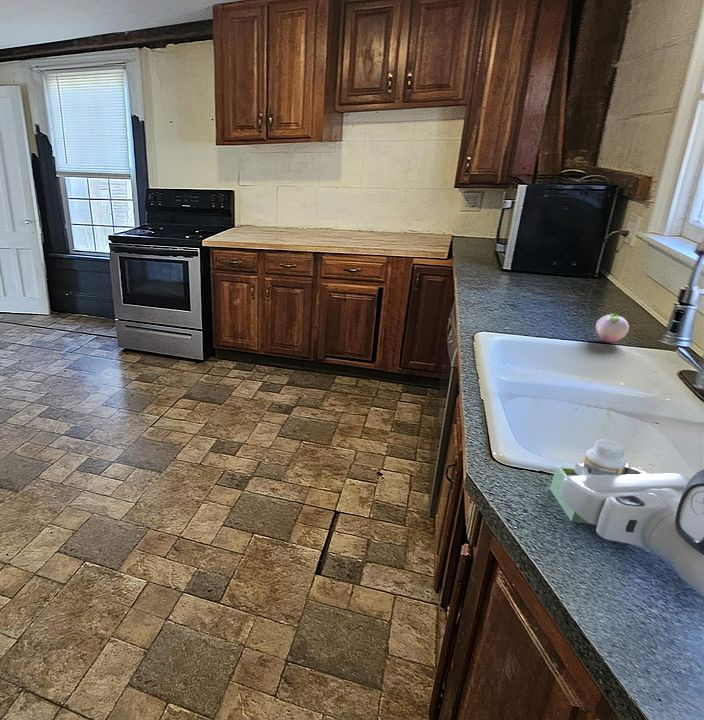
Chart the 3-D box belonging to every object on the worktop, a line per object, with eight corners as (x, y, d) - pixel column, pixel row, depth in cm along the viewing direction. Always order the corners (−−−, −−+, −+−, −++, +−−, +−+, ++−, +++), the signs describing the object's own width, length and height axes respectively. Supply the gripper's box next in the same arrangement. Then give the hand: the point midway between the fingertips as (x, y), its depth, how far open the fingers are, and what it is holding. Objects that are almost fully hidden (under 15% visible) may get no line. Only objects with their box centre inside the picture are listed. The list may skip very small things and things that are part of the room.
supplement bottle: (594, 485, 94) (611, 435, 90) (621, 504, 89) (640, 452, 85) (567, 488, 93) (582, 437, 89) (592, 508, 88) (609, 455, 84)
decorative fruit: (627, 349, 163) (637, 318, 160) (596, 345, 166) (605, 315, 162) (618, 339, 172) (628, 310, 168) (589, 336, 174) (598, 307, 170)
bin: (604, 494, 95) (612, 470, 93) (631, 528, 87) (641, 503, 85) (549, 489, 97) (556, 465, 95) (571, 522, 88) (579, 497, 86)
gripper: (741, 501, 76) (664, 449, 89) (603, 503, 75) (545, 451, 88) (725, 535, 78) (652, 480, 91) (591, 538, 78) (536, 482, 90)
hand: (598, 466), depth 90 cm, fingers closed on supplement bottle, 5 cm apart
